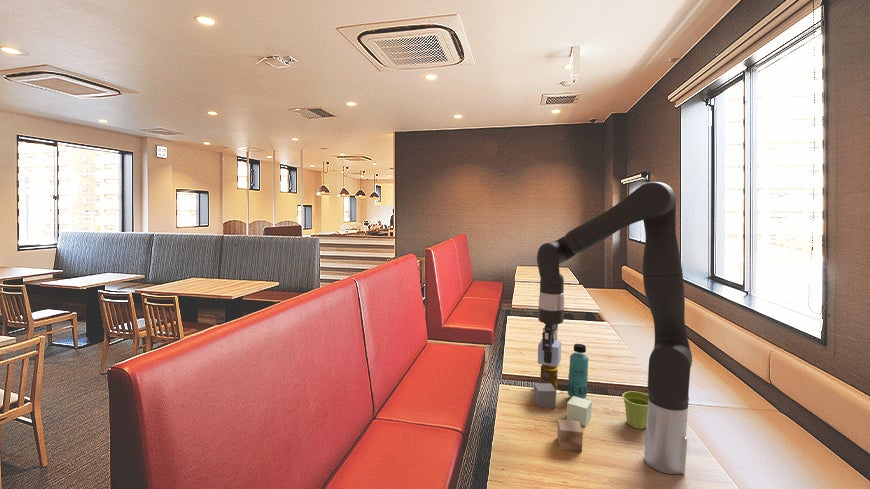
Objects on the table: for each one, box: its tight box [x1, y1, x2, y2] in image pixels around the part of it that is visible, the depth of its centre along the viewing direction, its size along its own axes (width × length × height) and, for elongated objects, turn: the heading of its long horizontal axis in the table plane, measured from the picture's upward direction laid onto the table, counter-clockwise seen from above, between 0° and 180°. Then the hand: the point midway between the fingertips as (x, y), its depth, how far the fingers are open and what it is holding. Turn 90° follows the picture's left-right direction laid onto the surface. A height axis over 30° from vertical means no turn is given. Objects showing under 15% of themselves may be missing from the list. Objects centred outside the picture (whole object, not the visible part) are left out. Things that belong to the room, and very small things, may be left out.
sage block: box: [566, 396, 593, 427], centre depth 133 cm, size 6×6×6 cm
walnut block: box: [556, 418, 584, 453], centre depth 119 cm, size 6×6×6 cm
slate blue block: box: [537, 339, 562, 368], centre depth 129 cm, size 6×6×6 cm
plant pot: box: [621, 390, 648, 430], centre depth 130 cm, size 9×9×9 cm
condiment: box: [530, 364, 563, 395], centre depth 153 cm, size 7×8×12 cm
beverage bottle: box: [567, 343, 590, 399], centre depth 146 cm, size 6×7×20 cm
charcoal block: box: [533, 382, 557, 409], centre depth 143 cm, size 6×6×6 cm
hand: (549, 359), depth 130 cm, fingers closed on slate blue block, 6 cm apart
